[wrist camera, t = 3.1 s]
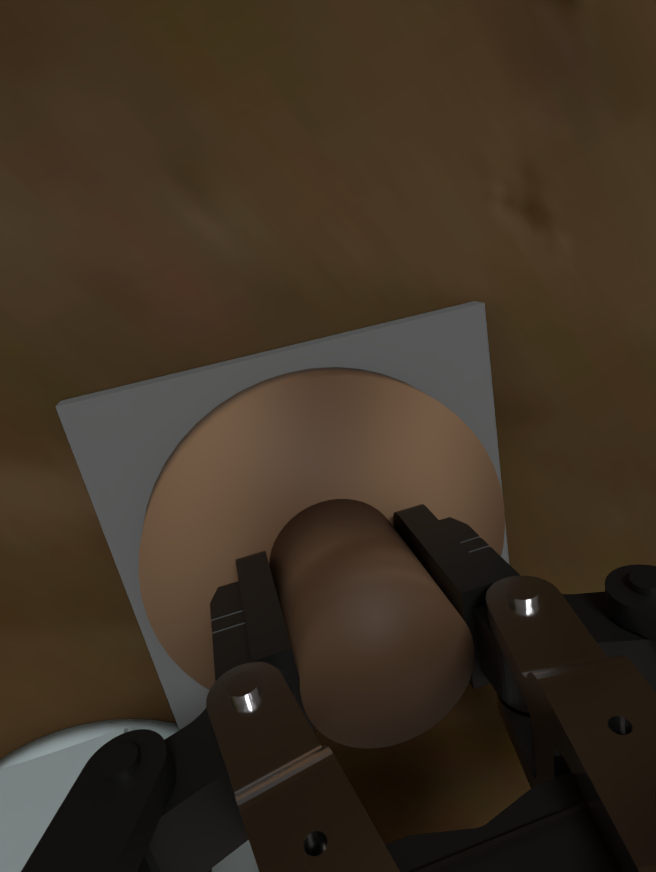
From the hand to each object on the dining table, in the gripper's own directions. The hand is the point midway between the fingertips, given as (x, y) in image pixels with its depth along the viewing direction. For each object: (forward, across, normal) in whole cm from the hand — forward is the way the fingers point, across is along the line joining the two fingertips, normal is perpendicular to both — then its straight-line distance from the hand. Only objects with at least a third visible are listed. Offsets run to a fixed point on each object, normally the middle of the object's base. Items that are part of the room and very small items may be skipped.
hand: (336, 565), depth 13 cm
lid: (+1, 0, 0) cm, 1 cm away
